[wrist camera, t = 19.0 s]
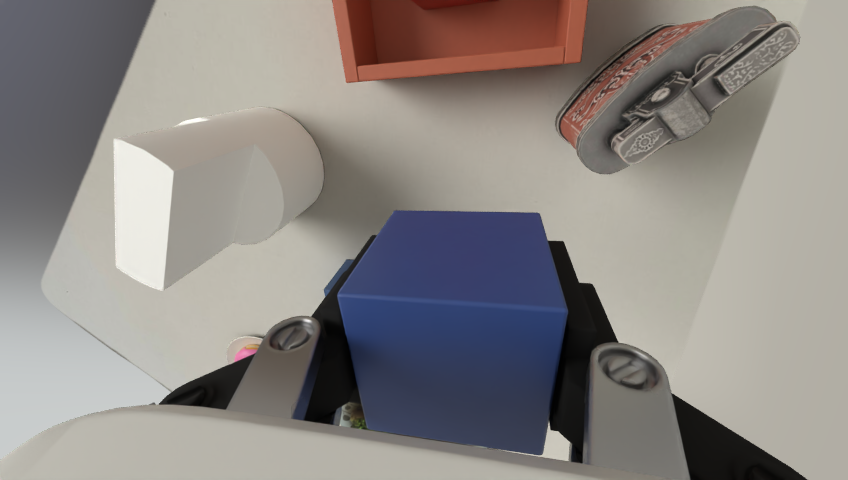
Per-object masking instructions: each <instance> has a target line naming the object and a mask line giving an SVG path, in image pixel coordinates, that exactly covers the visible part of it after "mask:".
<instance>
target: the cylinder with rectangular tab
mask: <svg viewBox="0 0 848 480" xmlns="http://www.w3.org/2000/svg"><path fill="white" fill-rule="evenodd" d="M323 182H324V167H323V162H322V158H321V155H320V152H319V149H318V147H317V146H316V144H315V142H314V140H313V139H312V137H311V135H310V134H309V133H308V132H307V131H306V130H305V129H304V127H303V126H302V125H301V124H300V123H299V122H297V121H296V120H295V119H293V118H292V117H290V116H289V115H288V114H286V113H283V112H281V111H279V110H276V109H274V108H267V107H254V108H248V109H243V110H238V111H233V112H227V113H222V114H217V115H211V116H206V117H201V118H196V119H191V120H185V121H183V122H182V123H180V124H179V125H177V126H175V127H171V128H166V129H161V130H156V131H151V132H146V133H141V134H136V135H131V136H126V137H121V138H116V139H114V186H115V243H116V267H117V268H118V269H119V270H121V271H122V272H124V273H125V274H127V275H129V276H130V277H132V278H134V279H135V280H137V281H138V282H140V283H143V284H145V285H148V286H150V287H152V288H155V289H157V290H161V291H164V290H165V289H167V288H168V287H170V286H171V285H172V284H174V283H175V282H177V281H178V280H180V279H181V278H183V277H184V276H186V275H187V274H188V273H190V272H191V271H193V270H194V269H196V268H197V267H199V266H200V265H202V264H203V263H204V262H206V261H207V260H209V259H210V258H212V257H213V256H215V255H216V254H218V253H219V252H220V251H222V250H223V249H225V248H226V247H228V246H229V245H231V244H232V243H235V244H241V245H247V244H257V243H259V242H262V241H264V240H267V239H268V238H270V237H271V236H272V235H273V234H275V233H276V232H277V231H279V230H280V229H281V228H282V227H284V226H285V225H286V224H288V223H289V222H290V221H292V220H293V219H294V218H295V217H297V216H298V215H299V214H301V213H302V212H303V211H304V210H306V209H307V208H308V207H309V206H311V205H312V204H313V203H314V202H315V201H316V200H317V198H318V196H319V194H320V193H321V191H322V187H323Z"/></svg>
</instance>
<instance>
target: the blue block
mask: <svg viewBox="0 0 848 480" xmlns="http://www.w3.org/2000/svg"><path fill="white" fill-rule="evenodd" d="M337 298H338V302H339V306H340V311H341V315H342V320H343V324H344V328H345V333H346V337H347V342H348V346H349V350H350V355H351V359H352V364H353V368H354V373H355V377H356V381H357V386H358V390H359V395H360V399H361V403H362V408H363V412H364V417H365V421H366V425H367V428H368V429H370V430H376V431H383V432H389V433H396V434H402V435H409V436H415V437H422V438H429V439H435V440H442V441H448V442H455V443H461V444H468V445H474V446H481V447H488V448H494V449H501V450H507V451H514V452H520V453H527V454H534V455H542V454H543V450H544V445H545V439H546V433H547V428H548V422H549V416H550V411H551V405H552V400H553V394H554V388H555V383H556V377H557V371H558V366H559V360H560V354H561V349H562V343H563V337H564V332H565V326H566V320H567V315H568V309H567V306H566V302H565V299H564V295H563V292H562V288H561V285H560V282H559V278H558V275H557V271H556V268H555V264H554V261H553V257H552V254H551V251H550V247H549V244H548V240H547V237H546V233H545V230H544V226H543V223H542V219H541V216H540V214H539V213H521V212H460V211H398V210H396V211H394V212H393V213H392V215H391V216H390V217H389V219H388V220H387V222H386V223H385V225H384V226H383V228H382V229H381V231H380V232H379V234H378V235H377V236H376V238H375V239H374V241H373V242H372V244H371V245H370V247H369V248H368V250H367V251H366V253H365V254H364V255H363V257H362V258H361V260H360V261H359V263H358V264H357V266H356V267H355V269H354V270H353V272H352V273H351V274H350V276H349V277H348V279H347V280H346V282H345V283H344V285H343V286H342V288H341V289H340V290H339V292H338V295H337Z"/></svg>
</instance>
